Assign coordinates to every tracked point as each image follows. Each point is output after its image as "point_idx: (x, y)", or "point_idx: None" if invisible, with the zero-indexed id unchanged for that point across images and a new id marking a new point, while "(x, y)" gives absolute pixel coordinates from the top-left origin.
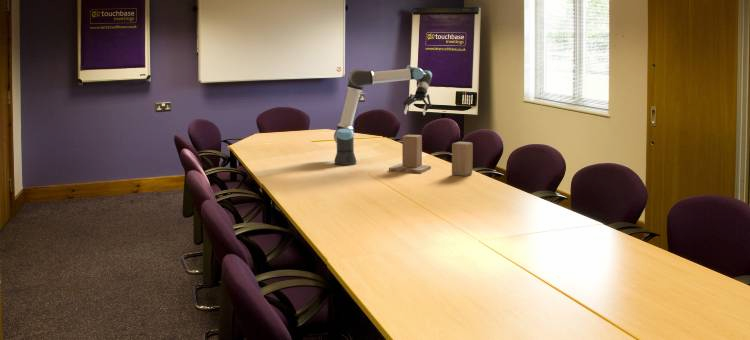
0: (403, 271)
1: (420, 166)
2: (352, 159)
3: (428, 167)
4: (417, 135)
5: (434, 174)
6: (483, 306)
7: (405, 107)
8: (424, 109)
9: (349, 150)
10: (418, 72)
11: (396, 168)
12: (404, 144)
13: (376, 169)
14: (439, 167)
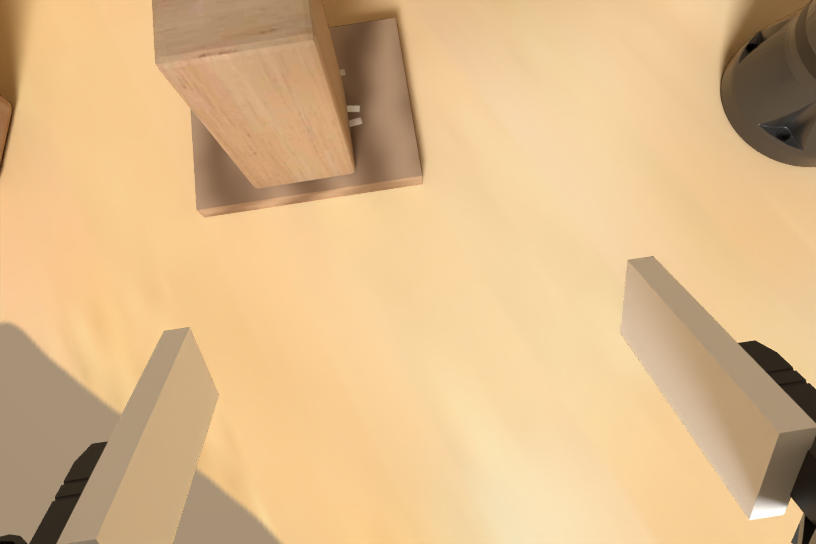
0: None
1: None
2: (746, 65)
3: (196, 169)
4: (182, 17)
5: (113, 73)
6: None
7: (731, 341)
8: (132, 396)
9: (807, 11)
10: None
11: (348, 28)
12: None
13: (494, 39)
14: (171, 285)
